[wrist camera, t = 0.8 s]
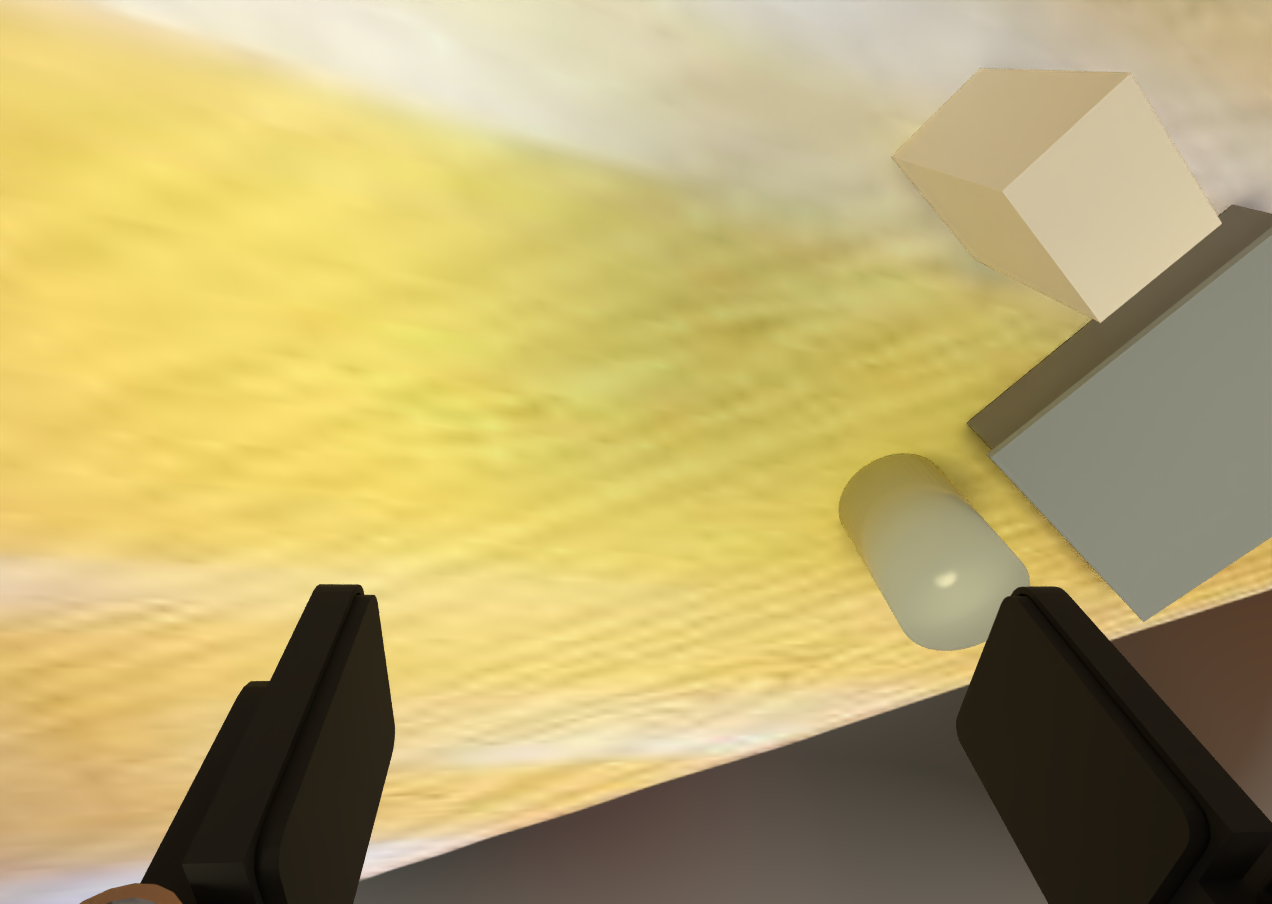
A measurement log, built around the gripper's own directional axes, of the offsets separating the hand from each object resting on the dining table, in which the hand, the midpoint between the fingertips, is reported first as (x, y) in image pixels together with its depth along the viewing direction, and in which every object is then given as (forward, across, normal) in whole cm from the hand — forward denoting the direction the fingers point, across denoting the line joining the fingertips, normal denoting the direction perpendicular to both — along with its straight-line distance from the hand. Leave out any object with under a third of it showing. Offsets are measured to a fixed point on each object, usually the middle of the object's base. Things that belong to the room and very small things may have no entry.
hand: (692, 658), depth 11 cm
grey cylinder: (+27, -17, +14) cm, 35 cm away
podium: (+27, -32, +8) cm, 43 cm away
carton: (+28, -17, -4) cm, 33 cm away
